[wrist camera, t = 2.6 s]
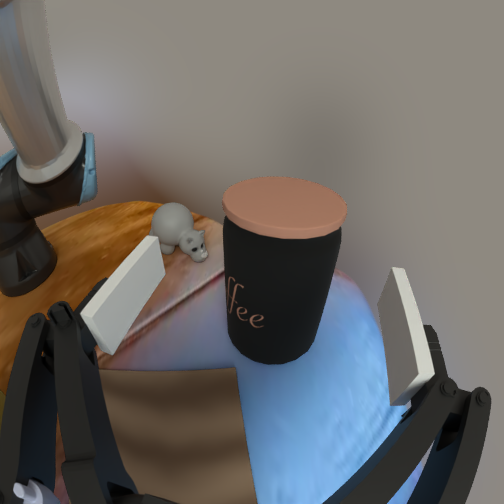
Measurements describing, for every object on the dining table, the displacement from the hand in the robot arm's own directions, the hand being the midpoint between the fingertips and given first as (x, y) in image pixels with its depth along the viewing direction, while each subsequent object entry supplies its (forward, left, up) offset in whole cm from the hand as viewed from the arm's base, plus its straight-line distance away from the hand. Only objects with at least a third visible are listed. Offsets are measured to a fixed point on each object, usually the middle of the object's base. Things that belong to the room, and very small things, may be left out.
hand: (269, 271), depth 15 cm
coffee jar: (-9, +3, -18) cm, 21 cm away
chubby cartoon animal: (-28, -9, -18) cm, 35 cm away
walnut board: (+5, -11, -18) cm, 21 cm away
